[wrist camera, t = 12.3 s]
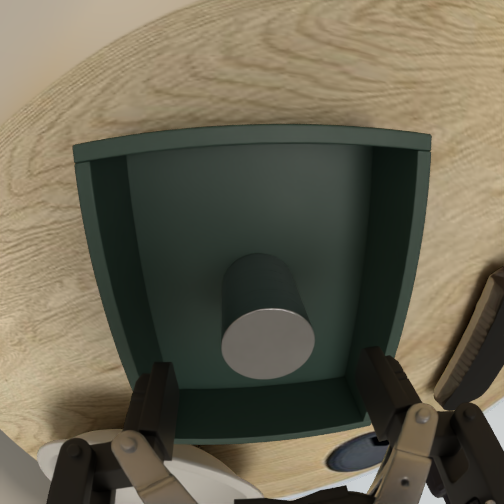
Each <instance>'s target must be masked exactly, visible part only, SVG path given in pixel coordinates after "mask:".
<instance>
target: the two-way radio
mask: <svg viewBox="0 0 504 504" xmlns="http://www.w3.org/2000/svg"><path fill="white" fill-rule="evenodd" d="M429 458H431V459H432V462H431V466H430V470H429V473H428V476H427V480H426V483H427V485H428V488H429V489H430V491H431V493H432V494H433V495H434V496H435V497H437V498H440V497H443V498H444V500H445V502H446V504H450V501H449V498H448V495H447V493H446V490H445V487H444V484H443V482H442V479H441V476H440V474H439V471H438V469H437V466H436V463H435V461H434V458H433V457H429Z"/></svg>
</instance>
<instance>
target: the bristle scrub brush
mask: <svg viewBox="0 0 504 504" xmlns="http://www.w3.org/2000/svg"><path fill="white" fill-rule="evenodd" d="M503 365H504V267H502V268H500V269H498V270H497V271H495V272H494V273H493V274H491V275H490V276H489V278H488V280H487V282H486V285H485V287H484V290H483V292H482V295H481V297H480V299H479V301H478V302H477V304H476V309H475V311H474V313H473V315H472V318H471V320H470V322H469V324H468V326H467V328H466V330H465V332H464V334H463V336H462V338H461V341H460V343H459V345H458V347H457V348H456V350H455V352H454V354H453V356H452V358H451V360H450V361H449V363H448V365H447V367H446V369H445V371H444V372H443V374H442V376H441V378H440V379H439V381H438V383H437V384H436V386H435V388H434V399H435V400H436V401H437V402H438V403H439V404H440V405H441V406H442V407H443V409H445V410H448V411H453V410H456V408H457V407H458V406H459V405H460V404H462V403H465V402H470V401H473V400H475V399H477V398H479V397H480V396H481V395H483V394H484V393H485V392H486V391H487V389H488V388H489V387H490V385H491V384H492V382H493V381H494V379H495V378H496V376H497V375H498V373H499V372H500V370H501V368H502V367H503Z"/></svg>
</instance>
